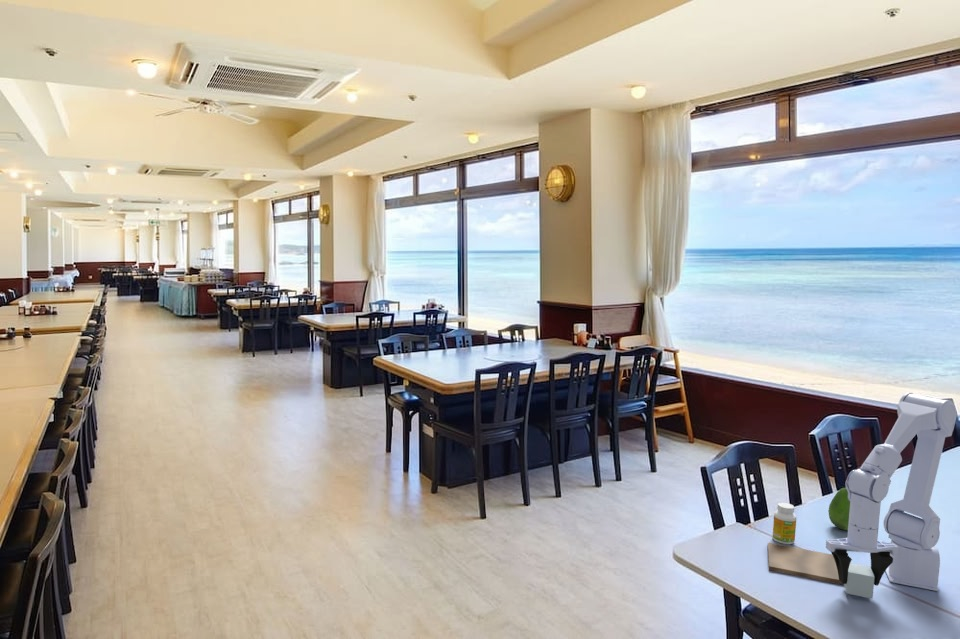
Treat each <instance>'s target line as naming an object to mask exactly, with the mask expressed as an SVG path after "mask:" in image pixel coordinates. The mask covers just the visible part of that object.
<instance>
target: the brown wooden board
mask: <svg viewBox="0 0 960 639" xmlns="http://www.w3.org/2000/svg"><path fill="white" fill-rule="evenodd" d="M767 559H768V571H771V572H777V573H782V574H787V575H792V576H797V577H802V578H807V579H813V580H817V581H822V582H827V583H833V584H837V585H842V586H844V584H843V583H842V582H841V581H840V580H839V576H838V570H837V566H836V563H835V560H834V557H833V555H832V553H826V552H821V551H820V552H819V551H815V550H811V549H810V550H809V549H804V548H801V547H793V546H787V545H784V544H778V543H777V544H776V543H773V542H772V543H771V542H767Z"/></svg>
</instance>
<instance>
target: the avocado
mask: <svg viewBox="0 0 960 639" xmlns="http://www.w3.org/2000/svg"><path fill="white" fill-rule="evenodd" d="M849 511H850V501H849V500H848V491H847V489H846V487H842V488H840V489H839V490H838V491H837V492H836V494H835V495H834V496H833V498H832V500H831V501H830V504H829V505H828V517H829V520H830V522H831V523H832V524H833V525H834V526H835V527H836V528H837V529H839V530H844V531H848V523H849Z"/></svg>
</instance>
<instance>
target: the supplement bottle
mask: <svg viewBox="0 0 960 639" xmlns="http://www.w3.org/2000/svg"><path fill="white" fill-rule="evenodd" d="M776 509H777V510H775V511H774V514H773V525H772V526H773V527H772V528H773V529H772V540H774V541H775V542H777V543H779V544H781V545H791V544H792V545H793V544H795V541H796V531H797V530H796V528H797V515H796V514H795V513H794V512H795V506H794V505H793V504H791V503H786V502H778V504H777V508H776Z"/></svg>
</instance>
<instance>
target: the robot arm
mask: <svg viewBox="0 0 960 639" xmlns="http://www.w3.org/2000/svg"><path fill="white" fill-rule="evenodd" d="M896 409H897V410H896V411H897V419H896V421H895V423H894V425H893V426H892V429H891V430H890V432H889V434H888V435H887V437H886V439H885V440H884V443H881V444H877V445H874V448H873V449H872V450H871V452H870V453H869V455H868V456H866V459H865V460H864V461H863V463H862V464H861V466H860V467H859V468H856V469H852V470H851V471H850V472H849V473H848V475H847V478H846V480H845V488H846V489H847V491H848V500H849V501H850V511H849V523H848V530H847V537H843V538H835V539H826V540H825V548H826V549H827V551H829V552H830V554H832V555H833V557H834V560H835V563H836V566H837V570H838V576H839V580H840V581H841V582H842V583H843V584H846V583H847V578H848V569H849V565H850V563H851V562H852V560H853V559H852V558H851V557H850V556H849V553H848V552H853V553H855V552H857V553H858V552H859V553H868V554H869V557H870V567H871V569H872V572H873V574H874V586H879V584H880V582H881V579H882V578H883V575H884V573H886V576H887V578H888V580H889V582H890V583H894V584H899V585H904V586H909V587H915V588H918V589H919V588H920V589H925V590H928V591H929V590H931V591H935V592H938V591H939V587H938V586H939V579H940V578H939V575H940V567H941V558H940V552H939V549H938V547H937V546H936V545H937V544H938V542H939V539H940V533H941V532H940V526H941V525H940V523H941V518H940V517H939V515H938V514H937V513H936V512H935V511H934V510H933V508H932V507H931V506H930V503H931V499H932V494H933V491H934V486H935V482H936V478H937V474H938V469H939V465H940V461H941V457H942V453H943V448H944V445H945V440H946V438H949V437H952V435H953V432H954V429H955V424H956V421H957V420H956V419H957V416H958V411H957V409H956V406H955V404H954V402H953V401H952V400H950V399H941V398H936V397H931V396H925V395H920V394H915V393H912V392H906V393H905V394H903V395H902V396H901V397H900V399H899V401H898V404H897V408H896ZM916 435H917V440H916V445H915V449H914V452H913V457H912V461H911V466H910V468H909V469H910V470H909V473H908V478H907V481H906V482H907V483H906V487H905V490H904V494H903V498H902V499H900V500H896V501H893V502H891V503H890V505H889V509H888V510H887V512H886V514H885V516H884V518H883V528H884V531H885V533H886V534H888V539H890V540H891V541H890V542H887V541H880V540H878V539H879V538H878V537H879V528H880V527H879V526H880V525H879V524H880V515H881V514H880V513H881V504H882V501H883V500H884V499H885V498H886V497H887V495H888V493H889V487H890V485H891V482H892V481H891V477H892V476H893V475H894V473H895V472H896V470H897V469H898V468H899V466H900V464H901V463H902V461H903V458H902V455H901V453H902V451H903V450H904V449H906V447H907V446H908V444H909V443H910V442H911V441H912V440H913V438H915V436H916Z"/></svg>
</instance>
